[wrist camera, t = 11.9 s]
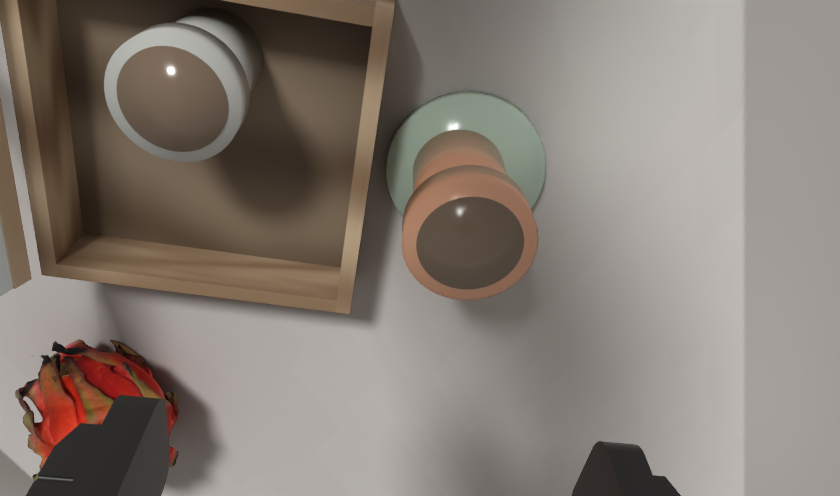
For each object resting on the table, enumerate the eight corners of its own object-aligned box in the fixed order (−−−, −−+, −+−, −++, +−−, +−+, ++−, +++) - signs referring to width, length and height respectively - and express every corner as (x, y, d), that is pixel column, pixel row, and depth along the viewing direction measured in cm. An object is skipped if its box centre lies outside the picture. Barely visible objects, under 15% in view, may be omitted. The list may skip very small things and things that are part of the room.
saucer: (399, 78, 31) (399, 82, 31) (562, 106, 32) (565, 110, 32) (376, 224, 36) (375, 230, 35) (520, 245, 36) (522, 251, 36)
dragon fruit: (156, 435, 46) (104, 290, 42) (228, 475, 41) (178, 316, 37) (38, 514, 40) (-39, 355, 36) (106, 573, 35) (27, 397, 31)
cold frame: (-131, -101, 27) (-473, -76, 16) (395, -5, 29) (389, 70, 19) (-52, 223, 35) (-247, 378, 25) (354, 278, 37) (334, 439, 27)
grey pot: (158, -12, 29) (97, 21, 23) (274, 9, 29) (242, 45, 23) (163, 99, 31) (108, 152, 26) (269, 116, 32) (239, 172, 26)
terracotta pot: (412, 111, 31) (414, 173, 25) (525, 129, 32) (554, 195, 26) (395, 212, 34) (392, 291, 28) (498, 227, 35) (518, 308, 29)
